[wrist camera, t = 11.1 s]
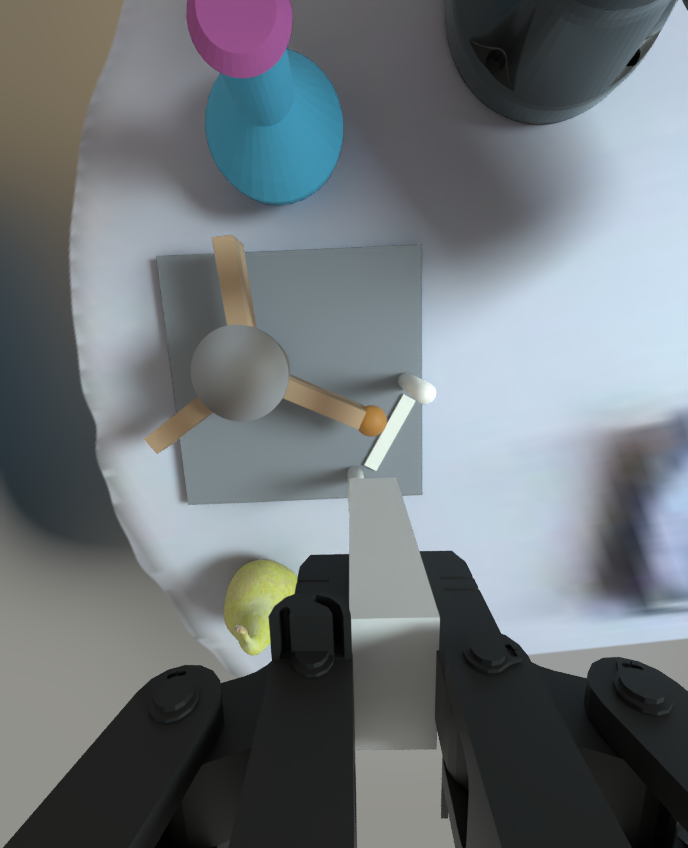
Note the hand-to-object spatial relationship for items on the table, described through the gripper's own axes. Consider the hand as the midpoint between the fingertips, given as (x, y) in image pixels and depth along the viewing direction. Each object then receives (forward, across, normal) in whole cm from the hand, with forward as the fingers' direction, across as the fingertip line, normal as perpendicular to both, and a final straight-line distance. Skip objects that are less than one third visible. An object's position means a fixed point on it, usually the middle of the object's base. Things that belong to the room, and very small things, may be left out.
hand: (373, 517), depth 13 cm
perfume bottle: (+24, -5, +19) cm, 31 cm away
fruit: (+23, -9, -17) cm, 30 cm away
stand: (+23, -5, +2) cm, 24 cm away
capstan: (+22, -5, +2) cm, 22 cm away
